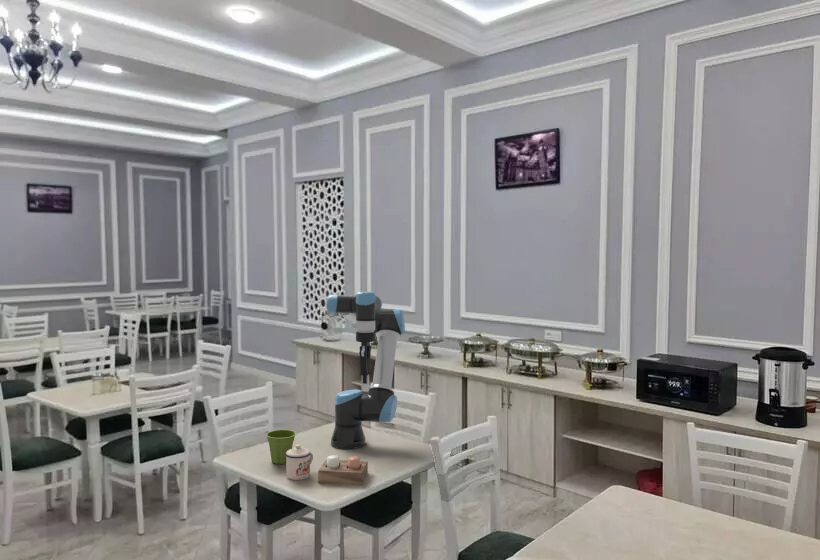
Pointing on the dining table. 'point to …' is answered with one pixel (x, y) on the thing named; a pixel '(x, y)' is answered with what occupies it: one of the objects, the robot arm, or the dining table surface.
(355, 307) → the robot arm
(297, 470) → the teacup with lid
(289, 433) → the plant pot
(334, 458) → the white egg
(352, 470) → the wooden egg holder
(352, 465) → the brown egg
